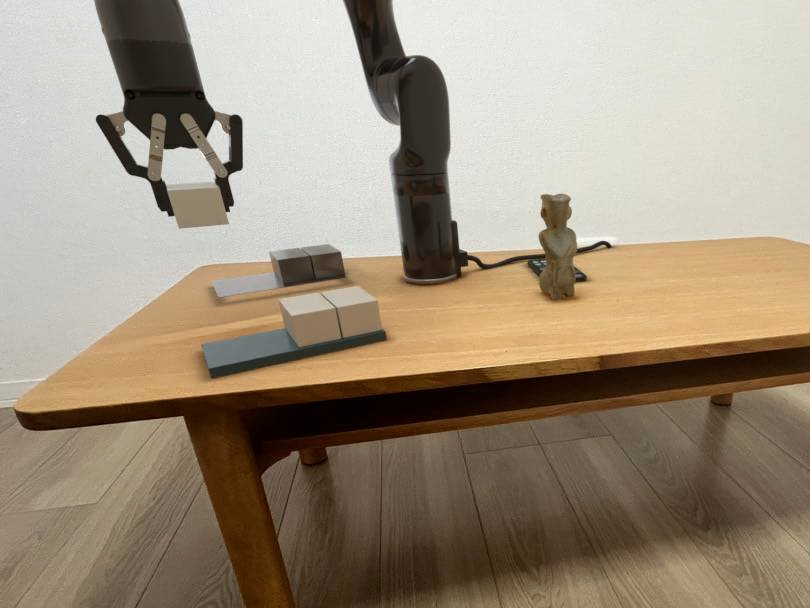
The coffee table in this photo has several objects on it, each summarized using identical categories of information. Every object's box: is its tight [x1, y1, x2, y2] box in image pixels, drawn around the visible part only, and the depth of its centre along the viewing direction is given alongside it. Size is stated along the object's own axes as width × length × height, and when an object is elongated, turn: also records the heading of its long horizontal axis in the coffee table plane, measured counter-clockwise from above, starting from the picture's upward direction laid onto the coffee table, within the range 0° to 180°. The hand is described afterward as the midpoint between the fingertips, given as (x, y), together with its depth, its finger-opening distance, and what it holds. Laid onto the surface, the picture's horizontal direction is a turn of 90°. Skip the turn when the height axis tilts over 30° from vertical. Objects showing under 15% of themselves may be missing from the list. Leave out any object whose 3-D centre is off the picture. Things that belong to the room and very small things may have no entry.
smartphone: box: [526, 259, 588, 282], centre depth 98 cm, size 7×1×15 cm
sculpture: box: [538, 193, 578, 300], centre depth 82 cm, size 6×7×15 cm
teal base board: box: [200, 285, 388, 379], centre depth 66 cm, size 20×9×5 cm, turn 124°
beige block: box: [165, 181, 230, 229], centre depth 63 cm, size 5×8×4 cm, turn 33°
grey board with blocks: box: [210, 243, 349, 299], centre depth 92 cm, size 20×12×5 cm, turn 124°
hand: (199, 212), depth 63 cm, fingers closed on beige block, 5 cm apart
